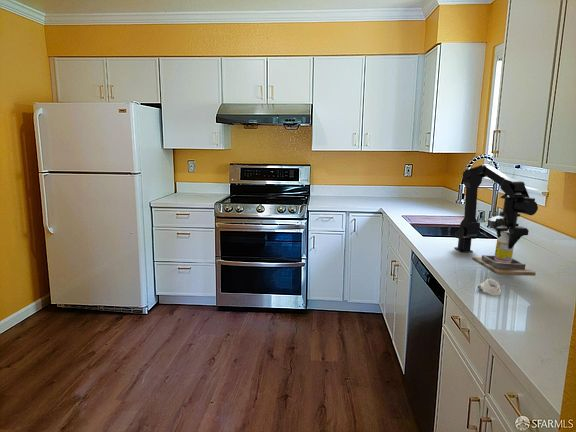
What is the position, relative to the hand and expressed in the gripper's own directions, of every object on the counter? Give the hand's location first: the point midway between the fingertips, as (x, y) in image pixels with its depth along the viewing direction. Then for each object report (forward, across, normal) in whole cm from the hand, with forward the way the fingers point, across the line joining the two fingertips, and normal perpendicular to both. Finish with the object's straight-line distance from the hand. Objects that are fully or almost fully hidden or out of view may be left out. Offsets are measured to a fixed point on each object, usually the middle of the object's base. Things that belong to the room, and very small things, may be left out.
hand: (504, 246), depth 170 cm
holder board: (+9, 0, 0) cm, 9 cm away
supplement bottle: (+7, 0, 0) cm, 7 cm away
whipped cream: (+9, +29, -22) cm, 38 cm away
